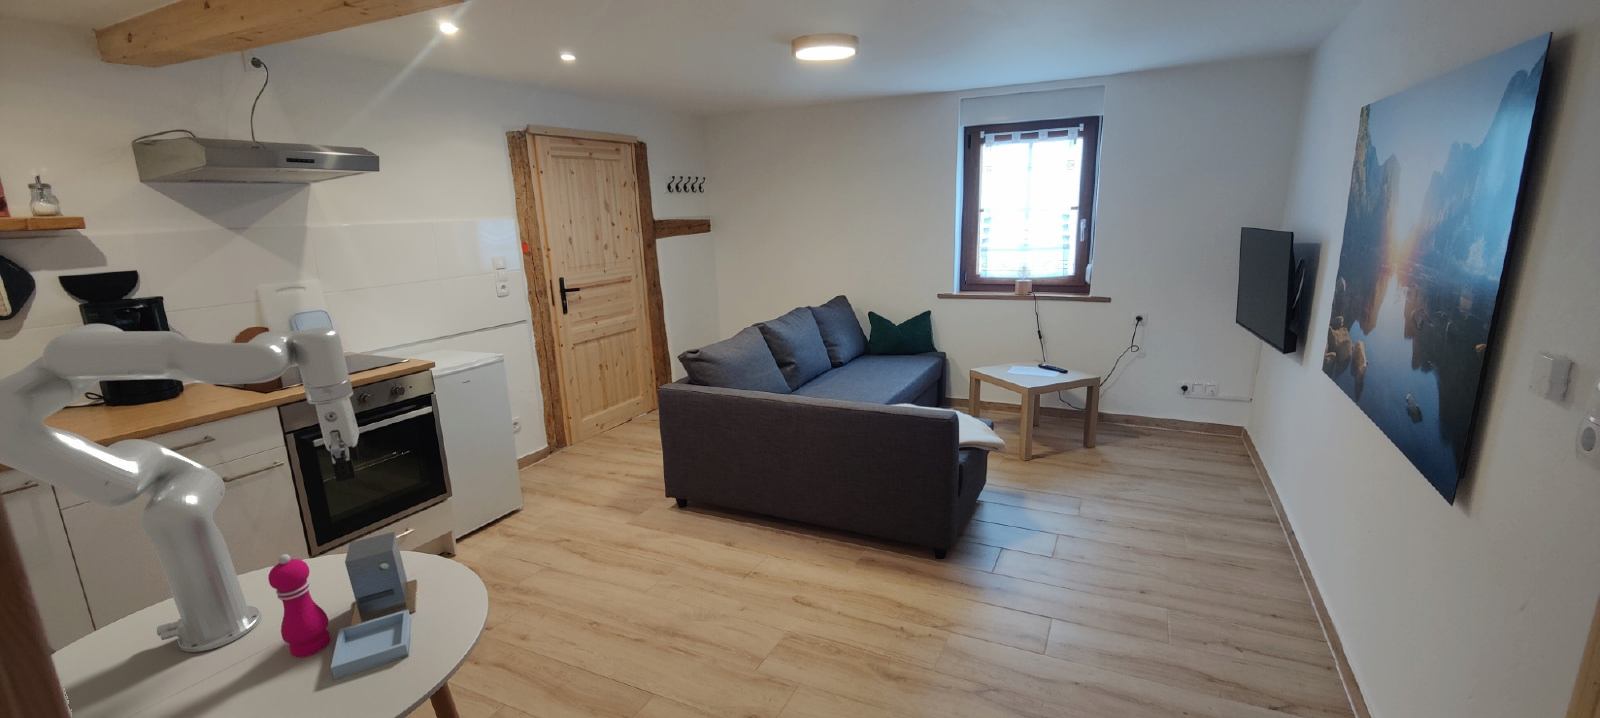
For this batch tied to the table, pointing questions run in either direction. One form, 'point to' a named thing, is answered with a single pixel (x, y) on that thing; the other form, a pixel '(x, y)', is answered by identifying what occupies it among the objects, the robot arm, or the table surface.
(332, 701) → the table surface
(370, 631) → the parts tray
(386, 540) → the control unit
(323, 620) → the pepper mill
